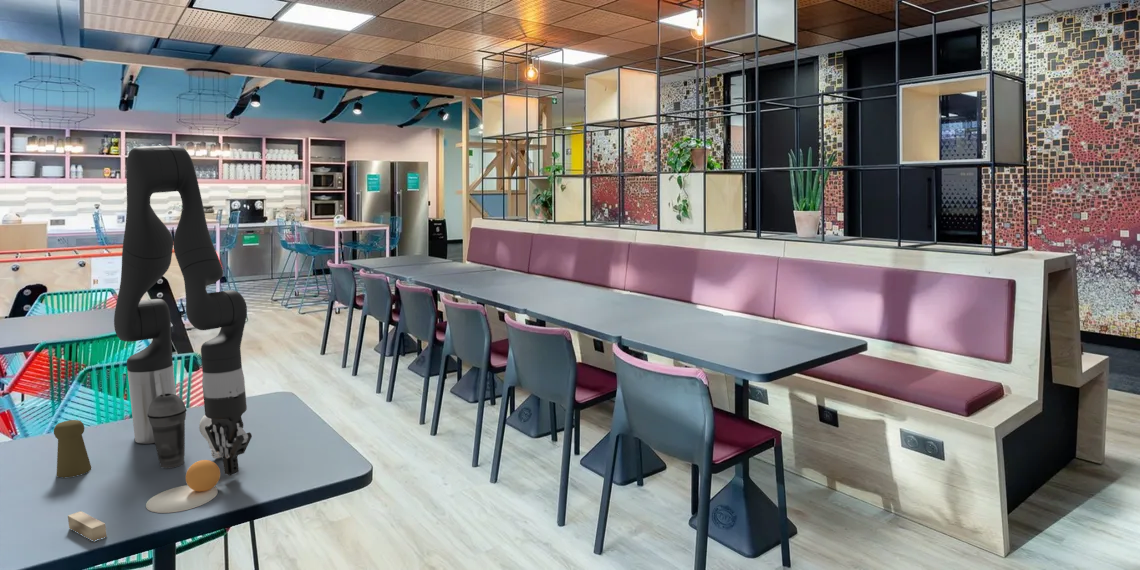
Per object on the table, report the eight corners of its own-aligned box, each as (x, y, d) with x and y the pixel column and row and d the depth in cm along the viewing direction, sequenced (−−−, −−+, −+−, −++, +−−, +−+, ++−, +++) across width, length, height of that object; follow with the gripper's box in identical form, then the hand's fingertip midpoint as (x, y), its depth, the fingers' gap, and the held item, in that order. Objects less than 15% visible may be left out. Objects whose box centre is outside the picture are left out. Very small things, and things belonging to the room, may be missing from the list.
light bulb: (222, 465, 148) (217, 416, 146) (195, 463, 149) (190, 414, 148) (242, 454, 154) (238, 406, 153) (216, 452, 155) (212, 405, 154)
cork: (98, 468, 148) (92, 418, 146) (70, 479, 142) (63, 427, 140) (78, 464, 149) (72, 415, 148) (49, 475, 144) (43, 425, 142)
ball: (214, 468, 140) (195, 495, 137) (193, 452, 137) (172, 479, 133) (232, 471, 137) (213, 499, 134) (211, 455, 134) (190, 483, 130)
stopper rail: (69, 529, 121) (67, 515, 120) (82, 524, 122) (80, 511, 122) (93, 542, 116) (92, 528, 115) (106, 537, 118) (105, 523, 117)
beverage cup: (164, 473, 144) (154, 380, 141) (145, 466, 148) (136, 375, 145) (198, 461, 150) (190, 372, 147) (179, 455, 154) (171, 368, 151)
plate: (133, 503, 130) (133, 502, 130) (196, 480, 140) (196, 479, 140) (167, 518, 124) (167, 517, 124) (230, 493, 134) (230, 492, 134)
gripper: (187, 390, 138) (195, 473, 141) (225, 401, 131) (233, 487, 134) (223, 381, 145) (230, 460, 147) (261, 391, 137) (268, 473, 140)
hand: (231, 473), depth 140 cm, fingers closed
